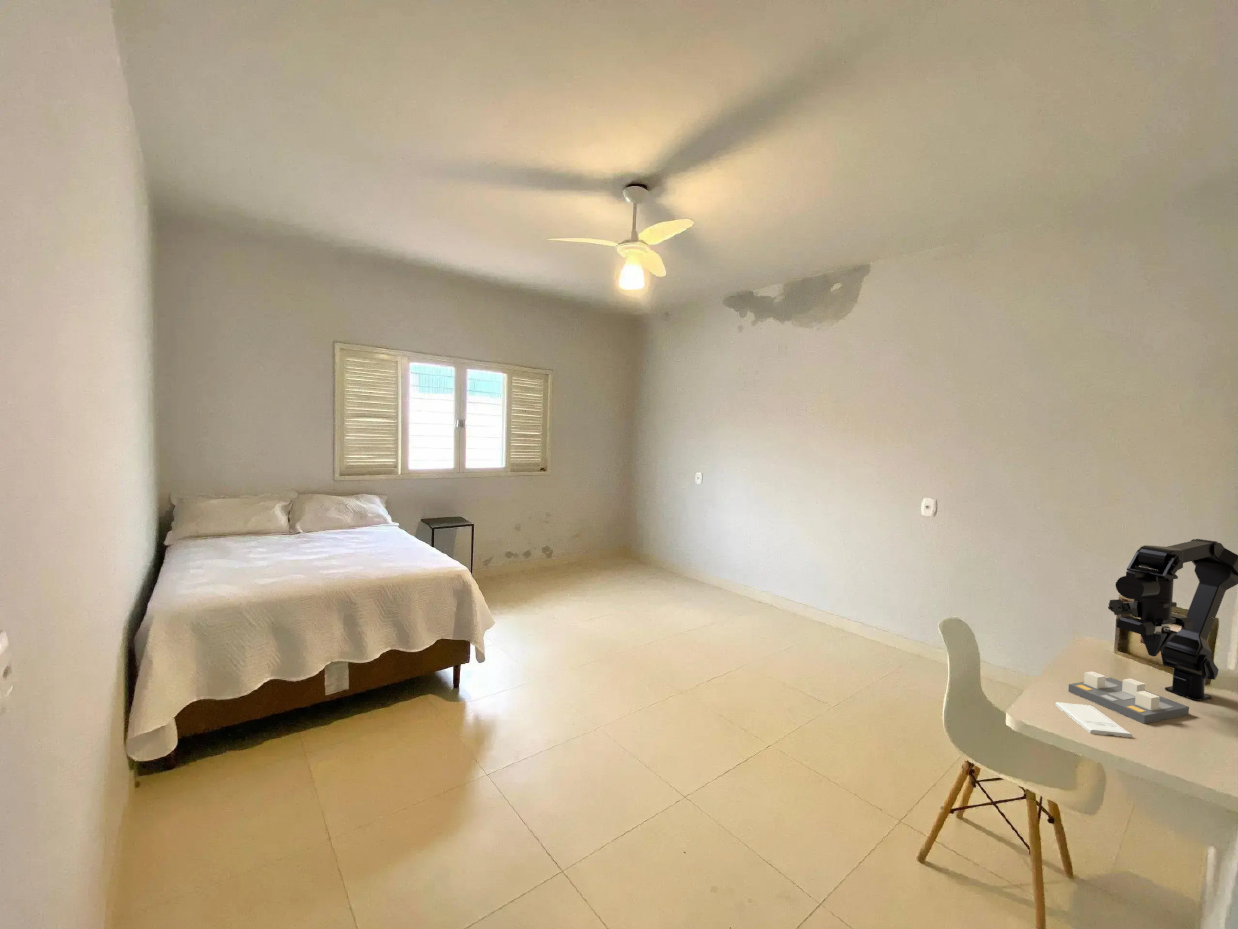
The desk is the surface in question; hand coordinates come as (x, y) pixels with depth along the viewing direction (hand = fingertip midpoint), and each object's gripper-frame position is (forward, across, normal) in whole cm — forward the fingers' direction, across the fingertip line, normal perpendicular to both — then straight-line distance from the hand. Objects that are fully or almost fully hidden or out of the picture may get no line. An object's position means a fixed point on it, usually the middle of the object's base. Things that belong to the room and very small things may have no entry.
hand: (1152, 655), depth 130 cm
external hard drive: (+13, +26, +3) cm, 29 cm away
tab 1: (+10, +10, -6) cm, 15 cm away
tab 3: (+10, +9, +4) cm, 14 cm away
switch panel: (+12, +7, -1) cm, 14 cm away
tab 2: (+10, +5, -1) cm, 11 cm away
